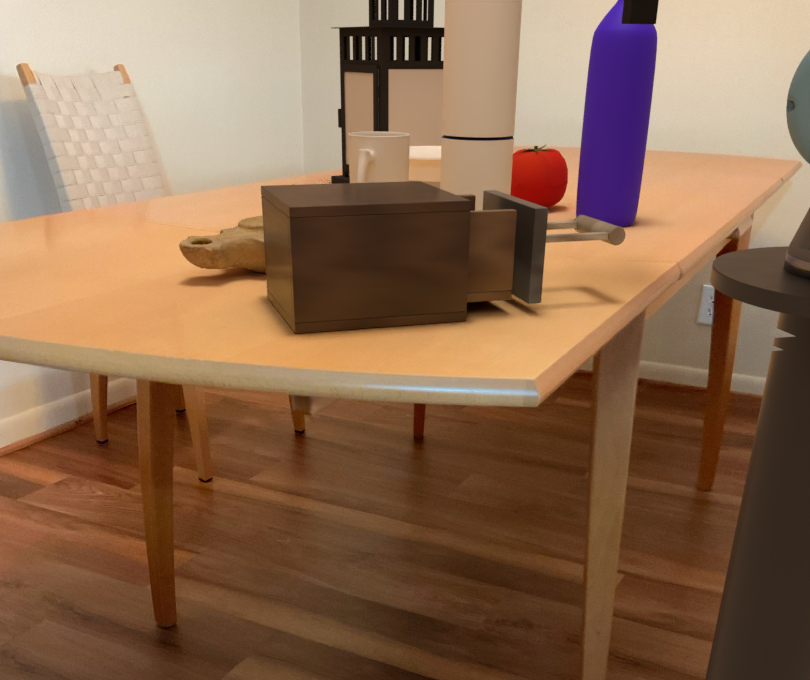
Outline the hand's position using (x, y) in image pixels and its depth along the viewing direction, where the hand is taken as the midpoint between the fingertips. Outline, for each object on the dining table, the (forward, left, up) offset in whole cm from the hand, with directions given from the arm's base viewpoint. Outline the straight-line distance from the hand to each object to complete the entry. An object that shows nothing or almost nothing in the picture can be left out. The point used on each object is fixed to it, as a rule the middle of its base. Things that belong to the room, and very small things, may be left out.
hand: (638, 23), depth 84 cm
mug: (+27, -1, -23) cm, 35 cm away
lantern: (+46, -54, -23) cm, 74 cm away
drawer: (+8, +16, -22) cm, 28 cm away
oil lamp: (+33, +15, -23) cm, 43 cm away
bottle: (+7, -32, -23) cm, 40 cm away
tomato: (+19, -40, -23) cm, 50 cm away
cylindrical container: (+14, +3, -23) cm, 27 cm away
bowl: (+28, -24, -23) cm, 43 cm away
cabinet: (+17, +24, -22) cm, 37 cm away
